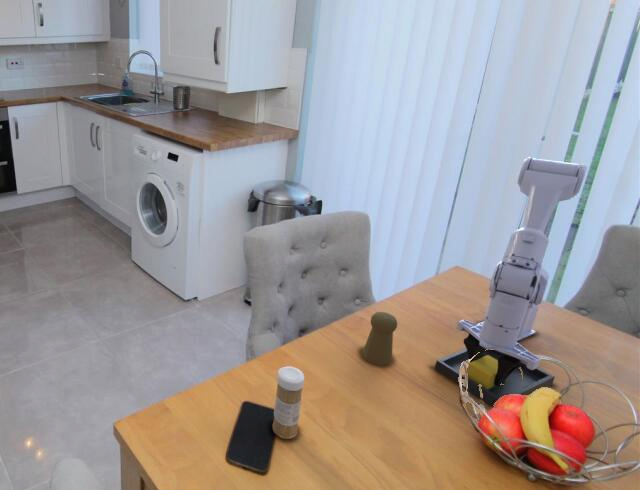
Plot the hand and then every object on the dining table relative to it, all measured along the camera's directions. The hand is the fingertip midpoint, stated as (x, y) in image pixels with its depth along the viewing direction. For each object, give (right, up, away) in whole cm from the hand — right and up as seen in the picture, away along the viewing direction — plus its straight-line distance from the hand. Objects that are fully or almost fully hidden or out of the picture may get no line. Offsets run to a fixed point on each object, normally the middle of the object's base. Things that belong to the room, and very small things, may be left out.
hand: (485, 375), depth 99 cm
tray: (+3, -1, +3) cm, 4 cm away
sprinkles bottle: (-45, -8, -9) cm, 46 cm away
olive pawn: (-18, +1, +10) cm, 20 cm away
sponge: (0, -1, +1) cm, 1 cm away
